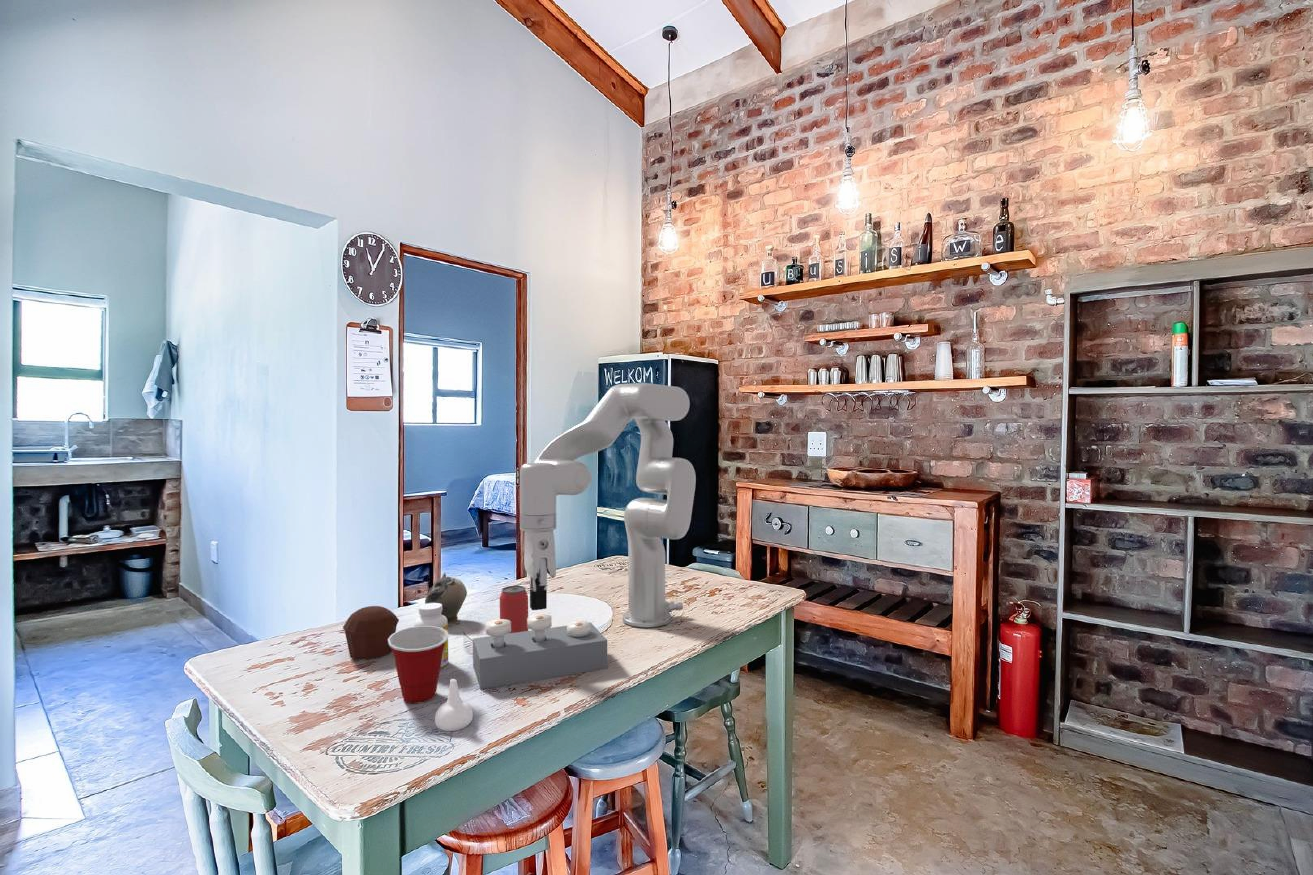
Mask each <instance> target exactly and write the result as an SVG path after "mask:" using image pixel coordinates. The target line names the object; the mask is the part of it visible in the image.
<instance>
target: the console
mask: <svg viewBox="0 0 1313 875" xmlns="http://www.w3.org/2000/svg"><path fill="white" fill-rule="evenodd" d="M589 623H590V634H589V635H586V636H582V637H572V636H569V635H568V634H567V625H561V626H556V627H555V626H554V627H550V628H548V629H545V641H543V642H536V643H534V630H528V631H524V632H516V633H509V634H506V635H504V647H501V648H494V649H493V636H490V635H487V636H482V637H474V638H472V667H473V670H474V673H475V677H476V680H477V683H478V686H479V689H480V690H484V689H490V688H497V687H504V686H509V685H515V684H520V683H527V682H532V681H534V682H535V681H538V680H539V681H540V680H545V679H549V678H550V679H551V678H556V677H562V676H567V675H575V674H579V673H580V674H581V673H587V672H591V671H592V672H593V671H598V670H605V669H608V639H607V638H606V637H605V636H604V635H603V634H602V633H601V632H600V630H598V629H597V627H596V626H595V625H594V624H593V623H592V622H589Z"/></svg>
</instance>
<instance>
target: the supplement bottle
mask: <svg viewBox="0 0 1313 875" xmlns="http://www.w3.org/2000/svg"><path fill="white" fill-rule="evenodd" d="M441 612H442V604H440V603H428V604H425V603H424V604H421V605H420V606H419V607H418V614H419V617H418V618H417V619H416V620H415V621H414V626H413V627H416V626H435V627H440V628H443V629H444V630H446V631H447V632H448V633H449V630H448V628H449V626H448V622H447V618H446V617H445V616H444V615H442V614H441ZM448 663H449V638H448V639H447V641H446V642H445V646H444V650H443V654H442V661H441V667H440V669H441V668H444V667H445V666H447V665H448Z"/></svg>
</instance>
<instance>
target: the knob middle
mask: <svg viewBox="0 0 1313 875" xmlns="http://www.w3.org/2000/svg"><path fill="white" fill-rule="evenodd" d="M552 618H553V617H552V616H551V615H550V614H547V613H536V614H531V615H528V618H527V627H528V630H529V631H531V630H534V643H536V642H543V641H545V629H548V628H552V624H553V622H552Z"/></svg>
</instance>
